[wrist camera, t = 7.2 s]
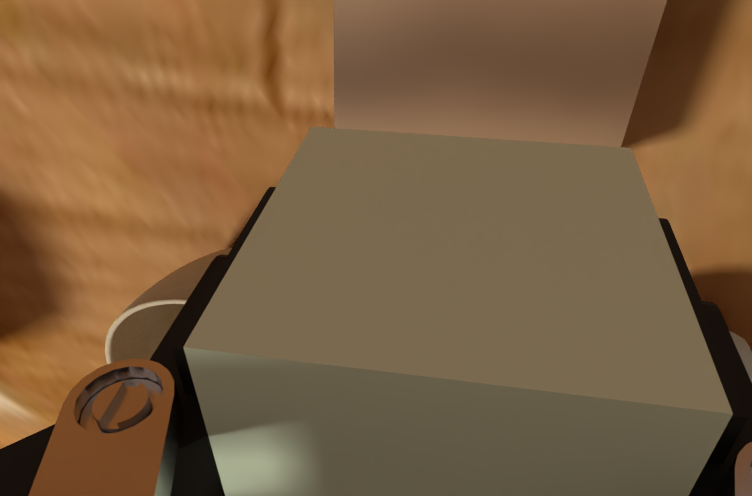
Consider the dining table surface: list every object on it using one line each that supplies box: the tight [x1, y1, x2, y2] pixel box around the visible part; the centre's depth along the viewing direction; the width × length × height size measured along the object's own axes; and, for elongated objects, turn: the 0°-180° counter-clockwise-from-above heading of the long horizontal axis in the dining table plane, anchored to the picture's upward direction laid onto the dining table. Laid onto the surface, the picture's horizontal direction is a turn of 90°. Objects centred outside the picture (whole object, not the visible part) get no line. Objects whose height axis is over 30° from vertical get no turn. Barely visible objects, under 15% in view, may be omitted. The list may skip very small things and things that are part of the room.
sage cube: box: [183, 127, 733, 496], centre depth 9 cm, size 5×5×5 cm
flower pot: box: [105, 248, 232, 364], centre depth 29 cm, size 10×10×7 cm
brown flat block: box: [334, 0, 667, 147], centre depth 21 cm, size 10×10×4 cm
